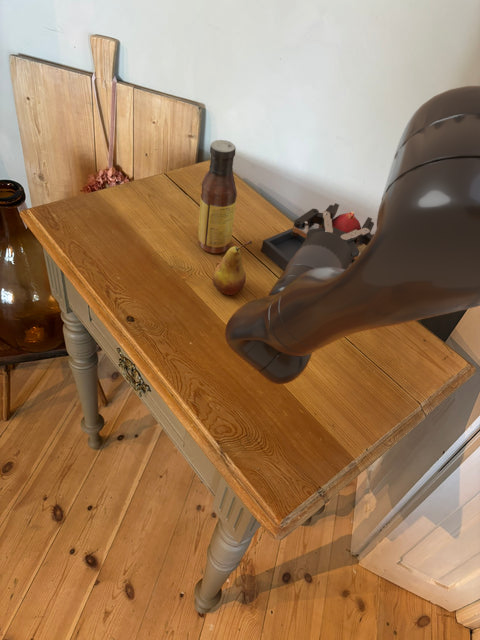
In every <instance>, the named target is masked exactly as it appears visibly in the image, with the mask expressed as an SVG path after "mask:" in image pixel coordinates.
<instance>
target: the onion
mask: <svg viewBox="0 0 480 640" xmlns="http://www.w3.org/2000/svg"><path fill="white" fill-rule="evenodd" d="M332 226H333V227H335V228H337V229H339V230H340V231H344V232H347V233H349V232H351V231H354V230H360V229H362V226H361V223H360V221H359V220H358V219H357V217H356V216H355V212H354V211H349V212H346V213H341V214H338V215H337V216H335V217H334V218H333V219H332Z"/></svg>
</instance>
